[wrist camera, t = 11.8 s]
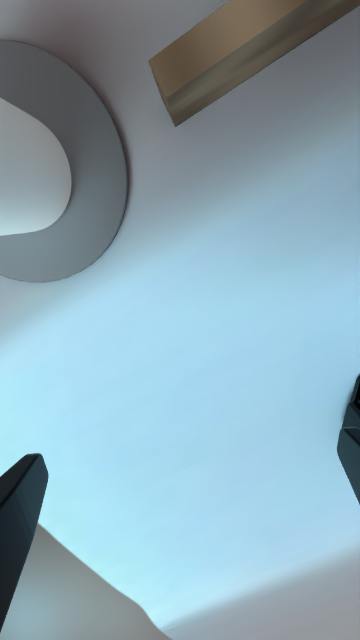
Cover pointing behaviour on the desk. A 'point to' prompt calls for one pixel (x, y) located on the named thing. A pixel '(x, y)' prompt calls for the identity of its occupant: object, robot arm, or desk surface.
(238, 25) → the partition
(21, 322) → the desk surface
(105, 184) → the pad
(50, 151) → the can
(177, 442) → the desk surface
